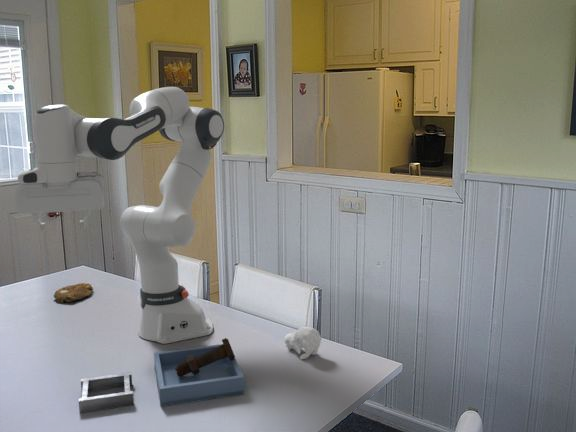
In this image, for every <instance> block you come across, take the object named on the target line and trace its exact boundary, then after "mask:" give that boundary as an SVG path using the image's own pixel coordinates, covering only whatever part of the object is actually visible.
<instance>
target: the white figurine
mask: <svg viewBox="0 0 576 432" xmlns="http://www.w3.org/2000/svg"><path fill="white" fill-rule="evenodd" d="M321 341H322V336H321V334H320V332H319V331H318V330H317V329H315V328H314V327H311V326H303V327H300V328H298V329H297V330H296V331H294V332H289V333H287V334H286V335H285V337H284V344H285V347H286V349H287V350H289V349H292V350H294V351H296V352H297V354H301V350H302V349H304V351H305V352H304V353H302V354H301V355H300V356H299V359H300V360H306V359H308V358H309V357H310V356H311V355H312V356H316V354H317V353H318V352H319V348H320V347H321Z"/></svg>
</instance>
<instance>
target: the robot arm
mask: <svg viewBox="0 0 576 432" xmlns="http://www.w3.org/2000/svg"><path fill="white" fill-rule="evenodd" d="M190 104H191V103H190V99H189V97H188V94H187V93H186V92H185V91H184V89H181V88H180V87H177V86H165V87H159V88H155V89H152V90H148V91H146V92H143V93H140V94H139V95H137V96H136V97H134V98H133V99H132V100H131V102H130V105H129V117H126V118H124V119H123V118H117V117H105V118H100V117H98V118H96V117H95V118H94V117H86V116H85V115H81V114H79V113H78V112H76V111H74V110H73V109H71V108H70V105H67V104H61V103H60V104H59V103H58V104H50V105H45V106H41V107H40V108H38V110H36V112H35V116H34V122H33V123H34V124H33V127H34V128H33V129H34V142H35V146H36V148H37V157H36V158H37V159H36V164H37V167H33V168H29V169H28V170H25V171H23V172H20V173H19V174H18V175H17V181H18V183H19V184H18V185H17V187H16V188H15V191H14V209H15V212H16V213H17V214H19V215H27V214H29V215H31V217H32V219H33V221H34V222H35V223H36V224H37V226H38V227H37V229H38V232H45V231H46V230H47V227H46V222H42V221H41V219H40V218H39V217H40V214H44V213H46V214H47V213H60V212H61V213H62V212H63V213H65V212H79V211H83V215H84V217H83V219H81V220H79V228H80V229H87V221H88V220H89V219H88V218H89V217H90V216H91V211H96V210H97V211H98V210H102V209H103V208H104V207H105V198H104V193H103V189H104V187H105V178H104V177H103V175H102V174H100V173H98V172H97V171H92V172H86V171H85V172H78V171H79V170H78V161H77V156H79V157H88V158H99V159H103V160H104V159H105V160H107V161H108V160H109V161H116V160H119V159H121V158H123V157H124V156H125V155H126V154H127V153H128V152H129V150H130V149H132V147H133V146H134V145H136V144H137V143H139V142H140V141H142V140H144V139H146V138H147V137H149V136H151V135H153V134H155V133H157V132H159V134H160V136H161V137H163V138H164V139H166V140H168V141H171V142H177V143H178V142H179V143H180V146H179V149H178V151H177V154H176V155H175V157H174V158H173V160H172V161H171V162H170V164H169V166H168V168H167V170H166V171H165V173H164V175H163V177H162V178H161V179H160V181H159V185H158V187H159V192H160V193H161V195H162V196H163V197H162V201H161V203H160V205H159V206H153V205H146V204H140V205H132V206H129V207H127V208H125V210H124V211H123V212H122V214H121V215H120V219H119V226H120V229H121V232H122V234H124V235H125V237H127V239H128V240H129V242H130V244H131V245H132V248H133V249H134V253H135V255H136V258H137V261H138V264H139V273H140V275H139V276H140V285H141V288H140V290H139V291H140V292H139V301H140V308H141V319H140V325H139V329H138V335H139V337H140V338H142V339H144V340H147V341H153V342H157V343H159V344H163V345H165V344H170V343H176V342H180V341H185V340H191V339H195V338H199V337H204V336H208V335H211V334H212V333H213V331H214V326H213V323H212V320H210V319H209V317H207V316H206V315H205V311H204V310H203V307H202V306H201V305H200V304H199V303H197V302H195V301H194V300H192V299H191V298H188V297H189V291H188V290H186V287H184V285H183V284H181V285H180V284H179V265H178V261H177V259H176V258H175V257H174V256H173V254H171V252H170V250H169V249H168V247H169V248H176V247H186V246H187V245H189V243H191V242H192V240H193V239H194V237H195V233H196V223H195V220H194V218H193V217H192V212H191V211H192V205H193V201H194V199H195V197H196V194H197V192H198V191H199V188H200V186H201V185H202V182H203V181H204V178H205V176H206V175H207V172H208V170H209V167H210V163H211V160H212V152H211V149H214V148H215V147H216V145H217V144H218V142H219V141H220V139H221V138H222V135H223V133H224V131H225V122H224V119H223V115H222V114H221V112H219V111H217V110H216V109H213V108H209V107H201V106H200V107H199V106H198V107H197V106H191V105H190Z"/></svg>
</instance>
